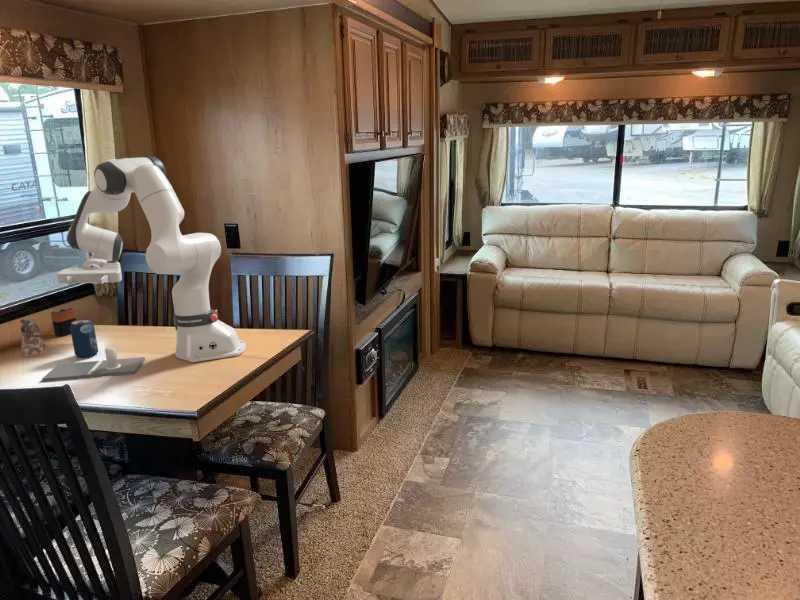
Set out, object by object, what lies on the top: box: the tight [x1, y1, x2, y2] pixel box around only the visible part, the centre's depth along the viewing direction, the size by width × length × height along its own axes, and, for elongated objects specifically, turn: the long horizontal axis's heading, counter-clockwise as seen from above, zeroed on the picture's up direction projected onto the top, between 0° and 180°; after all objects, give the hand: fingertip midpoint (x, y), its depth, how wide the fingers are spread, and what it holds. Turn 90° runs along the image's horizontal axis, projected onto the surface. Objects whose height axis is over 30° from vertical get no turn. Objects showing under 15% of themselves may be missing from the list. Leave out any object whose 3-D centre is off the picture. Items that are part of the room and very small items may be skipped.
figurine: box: [20, 318, 48, 357], centre depth 198 cm, size 7×7×12 cm
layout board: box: [41, 346, 146, 383], centre depth 181 cm, size 26×12×7 cm, turn 99°
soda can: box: [70, 318, 99, 359], centre depth 193 cm, size 7×7×12 cm
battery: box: [50, 305, 77, 337], centre depth 218 cm, size 4×7×10 cm, turn 148°
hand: (84, 282), depth 199 cm, fingers open, 8 cm apart
